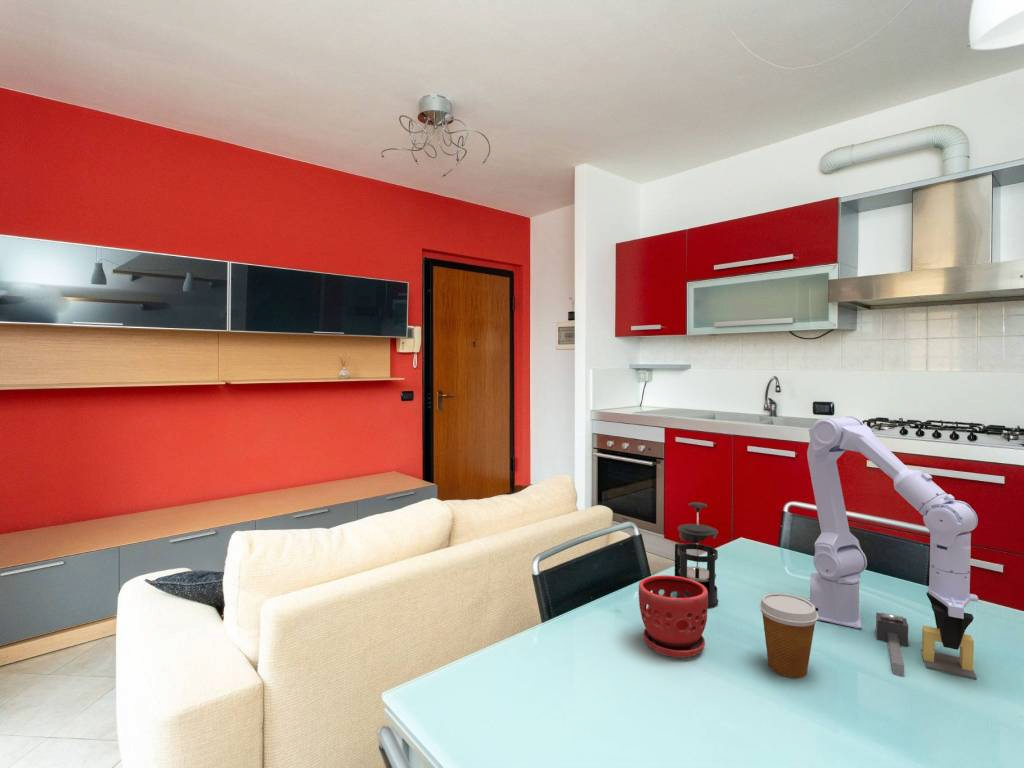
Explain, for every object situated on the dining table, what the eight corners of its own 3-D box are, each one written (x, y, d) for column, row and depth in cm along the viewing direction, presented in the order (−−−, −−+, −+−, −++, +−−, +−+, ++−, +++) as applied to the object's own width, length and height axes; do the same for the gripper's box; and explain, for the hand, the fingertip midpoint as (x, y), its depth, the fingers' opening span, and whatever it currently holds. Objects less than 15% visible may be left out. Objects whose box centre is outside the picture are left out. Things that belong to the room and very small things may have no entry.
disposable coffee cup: (795, 689, 89) (796, 619, 89) (747, 661, 98) (748, 598, 97) (829, 674, 94) (830, 608, 93) (780, 649, 102) (781, 588, 102)
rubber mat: (926, 668, 96) (926, 665, 96) (921, 650, 102) (921, 648, 102) (976, 679, 92) (976, 677, 92) (968, 661, 98) (968, 659, 98)
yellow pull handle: (923, 659, 98) (924, 630, 98) (922, 653, 100) (922, 625, 100) (973, 671, 94) (973, 641, 94) (970, 664, 96) (970, 635, 96)
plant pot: (718, 644, 104) (719, 584, 104) (689, 672, 94) (690, 606, 94) (657, 622, 113) (658, 567, 113) (625, 646, 103) (626, 585, 103)
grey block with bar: (881, 670, 95) (881, 644, 95) (875, 631, 109) (876, 608, 109) (916, 679, 92) (916, 652, 92) (905, 637, 107) (906, 614, 106)
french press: (729, 604, 122) (730, 506, 121) (700, 613, 117) (701, 511, 117) (690, 586, 132) (691, 495, 131) (662, 593, 128) (663, 499, 127)
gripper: (987, 586, 88) (986, 666, 88) (969, 560, 100) (968, 630, 101) (934, 577, 92) (932, 654, 92) (923, 553, 104) (921, 620, 104)
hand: (947, 641), depth 97 cm, fingers open, 5 cm apart
